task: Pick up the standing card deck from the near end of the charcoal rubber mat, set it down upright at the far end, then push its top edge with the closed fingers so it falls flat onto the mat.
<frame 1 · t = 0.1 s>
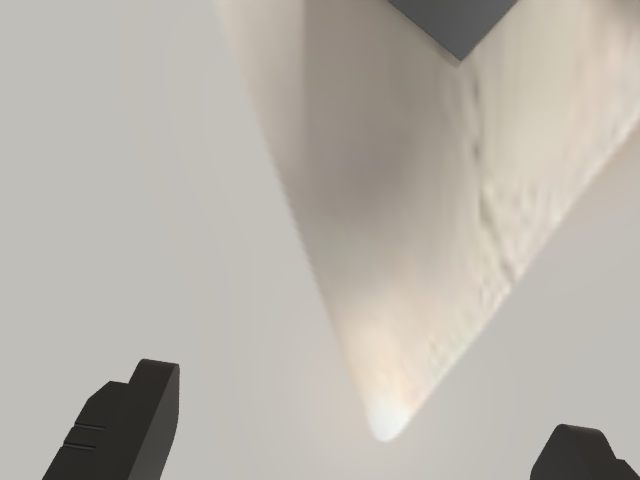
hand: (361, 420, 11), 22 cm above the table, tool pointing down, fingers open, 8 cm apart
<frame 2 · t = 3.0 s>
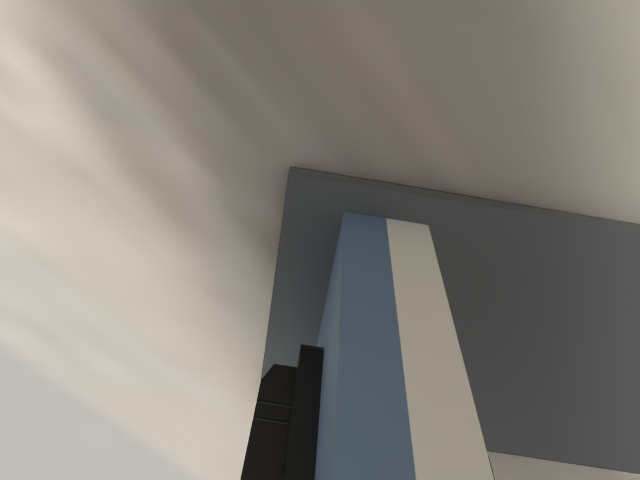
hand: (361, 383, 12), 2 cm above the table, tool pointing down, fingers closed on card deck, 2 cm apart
mat: (489, 337, 14), on the table
card deck: (359, 325, 14), resting on mat, touching gripper
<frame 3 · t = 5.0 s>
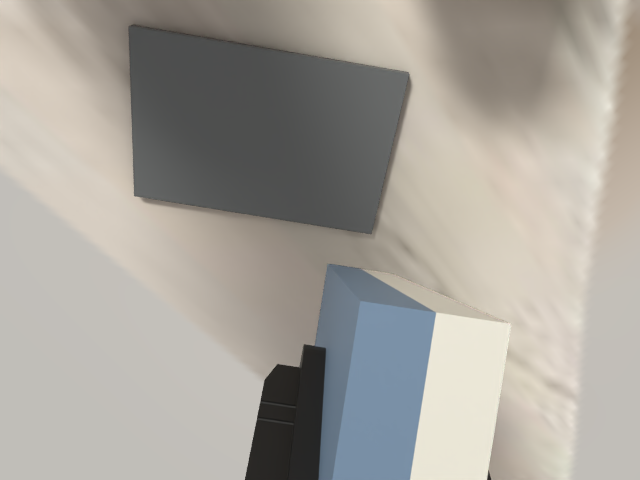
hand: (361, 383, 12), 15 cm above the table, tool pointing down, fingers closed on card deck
mat: (262, 137, 24), on the table
card deck: (343, 374, 16), point 12 cm above the table, tilted 30°, touching gripper
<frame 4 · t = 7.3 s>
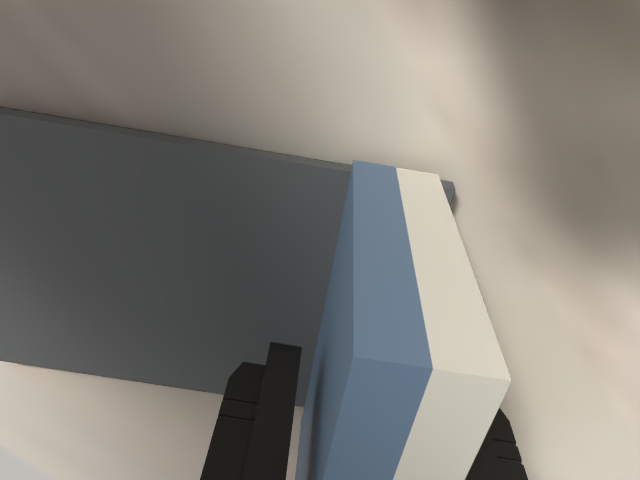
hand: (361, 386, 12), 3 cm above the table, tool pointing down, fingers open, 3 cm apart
mat: (200, 277, 14), on the table
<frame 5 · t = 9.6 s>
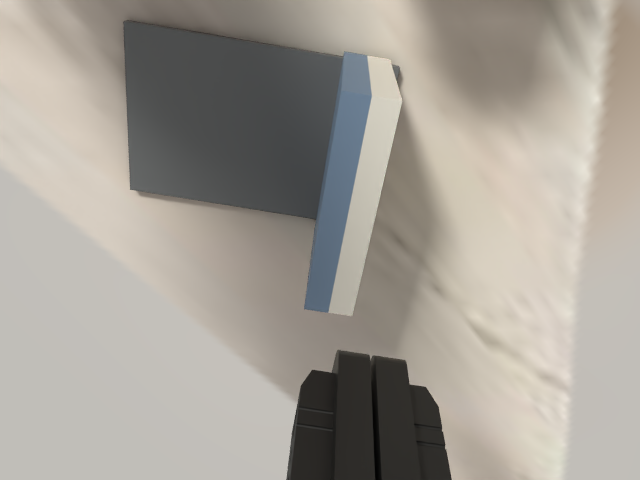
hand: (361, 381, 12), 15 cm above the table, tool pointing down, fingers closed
mat: (256, 130, 25), on the table
card deck: (331, 268, 24), point 4 cm above the table, tilted 90°, touching mat
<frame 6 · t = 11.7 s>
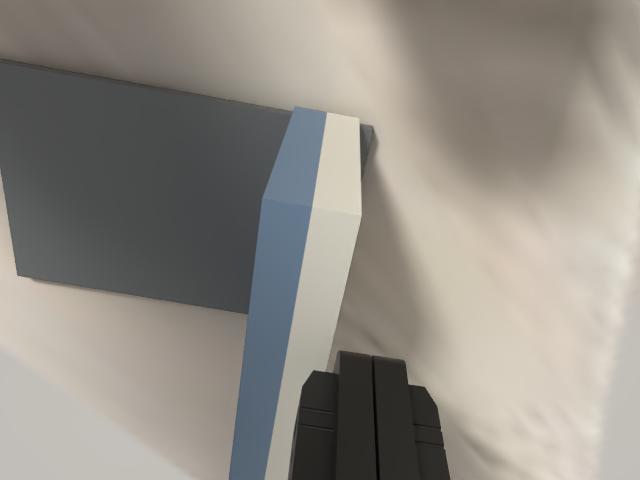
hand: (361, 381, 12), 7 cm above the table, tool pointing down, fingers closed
mat: (180, 205, 18), on the table
card deck: (277, 398, 18), point 4 cm above the table, tilted 90°, touching mat
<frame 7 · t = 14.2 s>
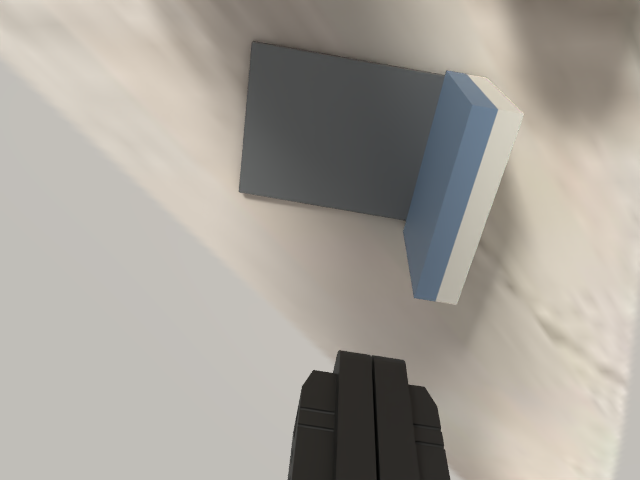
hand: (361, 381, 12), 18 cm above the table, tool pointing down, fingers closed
mat: (358, 139, 28), on the table
card deck: (427, 264, 27), point 4 cm above the table, tilted 90°, touching mat
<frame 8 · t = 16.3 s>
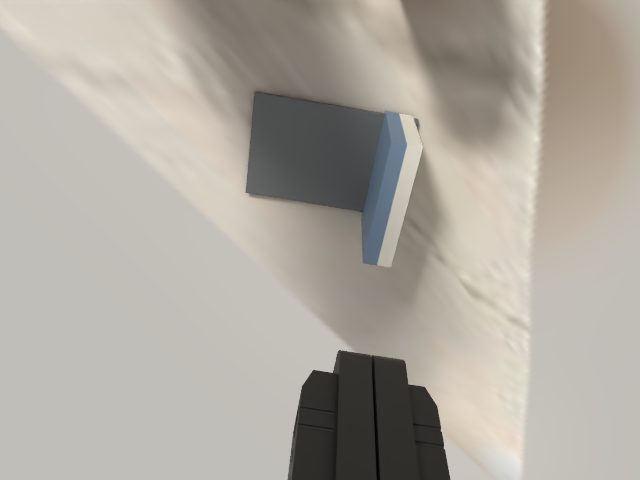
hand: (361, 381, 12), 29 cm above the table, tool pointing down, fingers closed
mat: (328, 156, 40), on the table
card deck: (375, 241, 39), point 4 cm above the table, tilted 90°, touching mat
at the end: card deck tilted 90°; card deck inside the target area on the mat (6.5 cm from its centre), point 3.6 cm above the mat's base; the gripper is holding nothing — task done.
